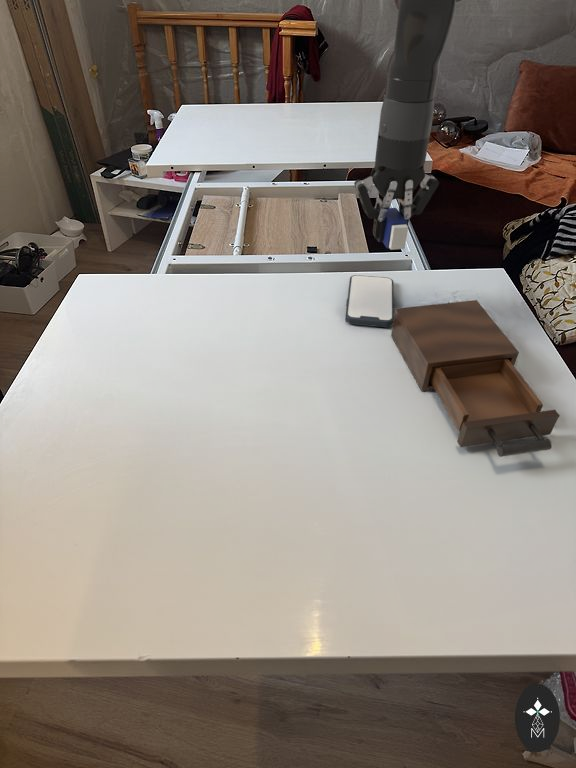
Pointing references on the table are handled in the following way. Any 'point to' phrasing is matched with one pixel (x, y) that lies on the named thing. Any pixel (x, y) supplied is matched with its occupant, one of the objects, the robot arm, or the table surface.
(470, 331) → the cabinet
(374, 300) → the phone case
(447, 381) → the drawer
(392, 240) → the eraser
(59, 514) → the table surface
